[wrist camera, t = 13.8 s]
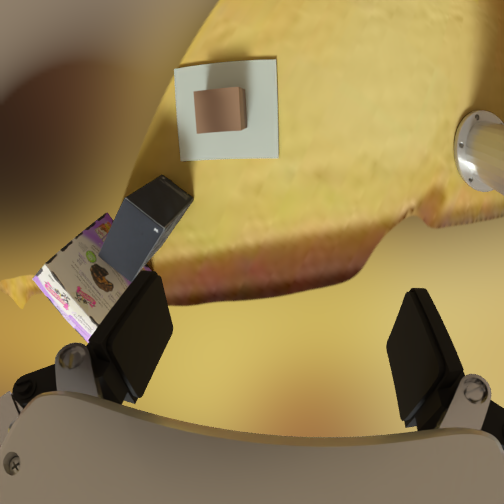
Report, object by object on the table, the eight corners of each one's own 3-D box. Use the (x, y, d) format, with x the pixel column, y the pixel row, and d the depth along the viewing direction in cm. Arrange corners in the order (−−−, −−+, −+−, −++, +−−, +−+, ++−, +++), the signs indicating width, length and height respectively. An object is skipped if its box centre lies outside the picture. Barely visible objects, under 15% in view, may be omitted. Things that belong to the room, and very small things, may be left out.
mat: (276, 60, 29) (276, 59, 28) (278, 157, 35) (278, 158, 34) (175, 69, 30) (174, 69, 30) (182, 160, 36) (180, 161, 36)
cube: (245, 89, 30) (238, 86, 26) (247, 127, 33) (241, 130, 29) (205, 93, 31) (193, 91, 27) (208, 129, 34) (196, 133, 29)
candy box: (89, 227, 44) (29, 278, 29) (108, 210, 42) (43, 262, 27) (135, 286, 49) (91, 350, 34) (156, 275, 47) (112, 343, 32)
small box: (160, 171, 38) (122, 194, 29) (195, 198, 39) (167, 228, 30) (130, 223, 42) (95, 256, 33) (161, 247, 44) (132, 285, 35)
